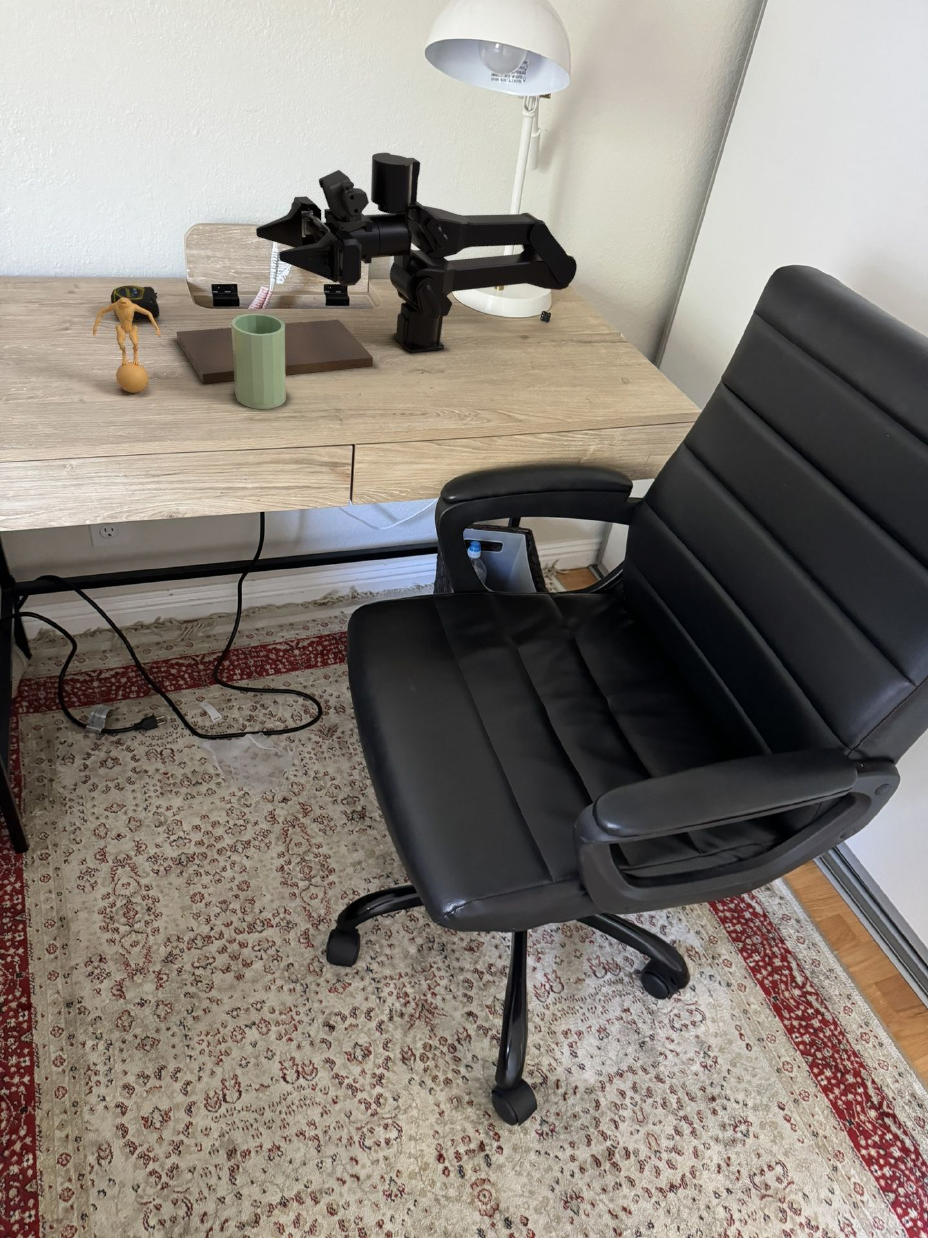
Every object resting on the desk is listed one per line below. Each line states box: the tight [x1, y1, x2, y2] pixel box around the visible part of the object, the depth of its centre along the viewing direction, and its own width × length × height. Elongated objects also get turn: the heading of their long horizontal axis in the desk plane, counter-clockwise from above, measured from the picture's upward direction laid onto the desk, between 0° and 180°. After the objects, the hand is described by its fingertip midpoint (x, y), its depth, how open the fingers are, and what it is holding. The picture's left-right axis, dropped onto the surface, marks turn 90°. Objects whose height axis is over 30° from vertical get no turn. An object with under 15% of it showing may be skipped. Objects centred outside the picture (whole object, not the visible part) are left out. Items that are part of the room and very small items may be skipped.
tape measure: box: [110, 284, 160, 321], centre depth 125 cm, size 7×7×4 cm
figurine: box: [92, 297, 162, 394], centre depth 106 cm, size 8×6×12 cm
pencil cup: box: [230, 312, 287, 410], centre depth 109 cm, size 7×7×10 cm
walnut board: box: [176, 319, 374, 385], centre depth 122 cm, size 26×14×2 cm, turn 118°
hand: (267, 243), depth 110 cm, fingers open, 9 cm apart
